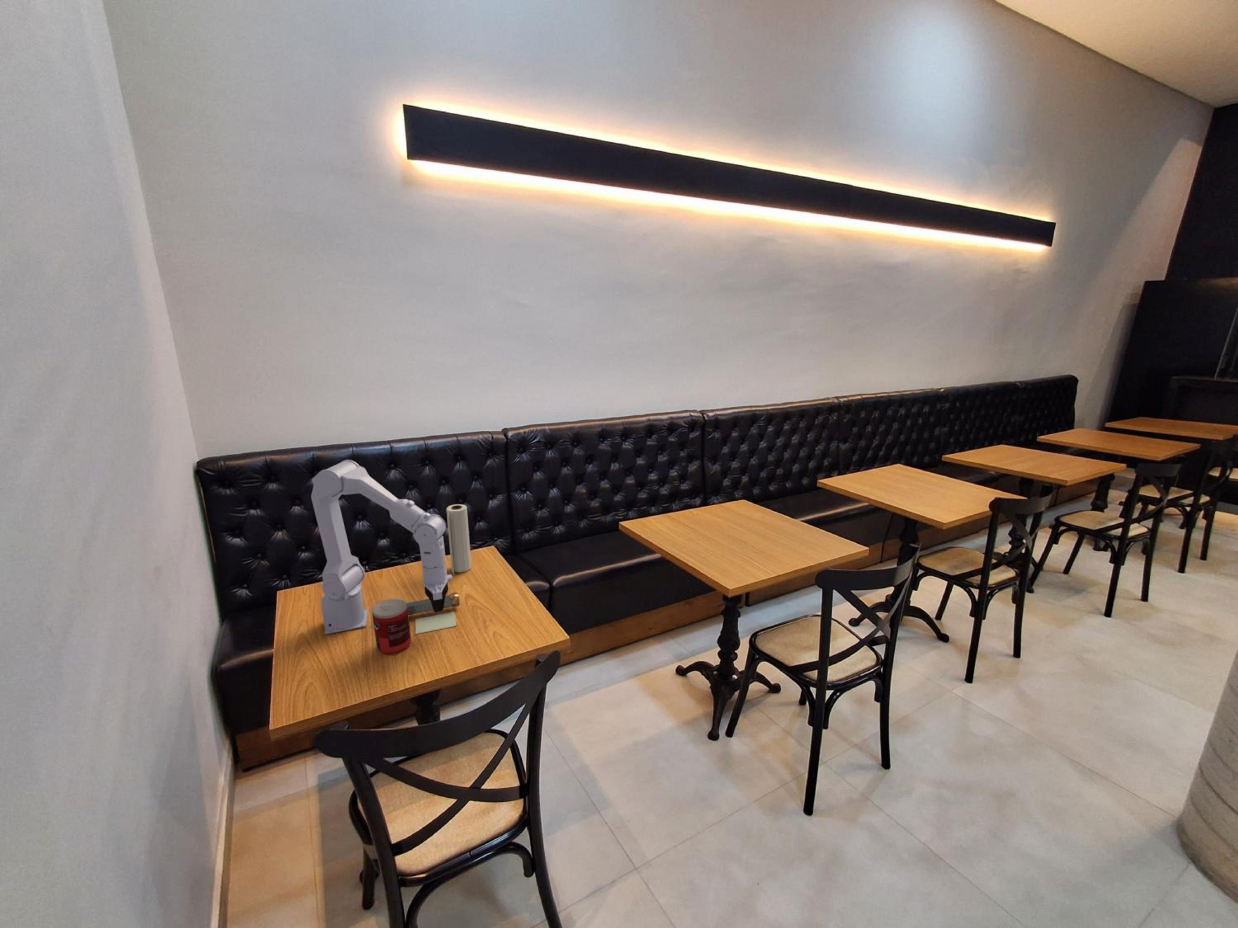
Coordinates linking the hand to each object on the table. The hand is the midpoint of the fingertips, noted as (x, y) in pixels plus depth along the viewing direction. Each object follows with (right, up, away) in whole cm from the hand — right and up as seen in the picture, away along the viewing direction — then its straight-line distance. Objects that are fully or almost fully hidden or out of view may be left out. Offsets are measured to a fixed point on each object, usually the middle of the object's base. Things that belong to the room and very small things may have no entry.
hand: (438, 610), depth 132 cm
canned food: (-9, -7, -6) cm, 13 cm away
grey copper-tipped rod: (-6, -2, +7) cm, 10 cm away
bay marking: (-2, -4, +3) cm, 6 cm away
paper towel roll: (-4, +4, +32) cm, 32 cm away
